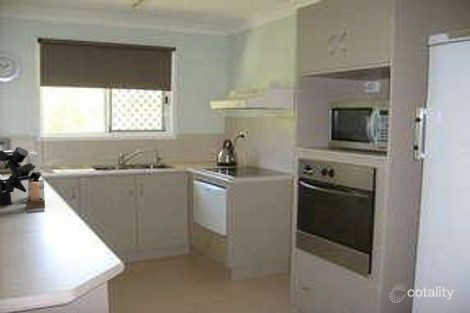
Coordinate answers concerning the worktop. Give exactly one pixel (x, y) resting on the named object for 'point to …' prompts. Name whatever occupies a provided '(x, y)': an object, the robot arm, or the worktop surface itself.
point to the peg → (34, 191)
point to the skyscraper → (33, 161)
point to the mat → (35, 210)
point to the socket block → (35, 203)
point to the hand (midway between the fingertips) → (32, 190)
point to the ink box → (41, 182)
